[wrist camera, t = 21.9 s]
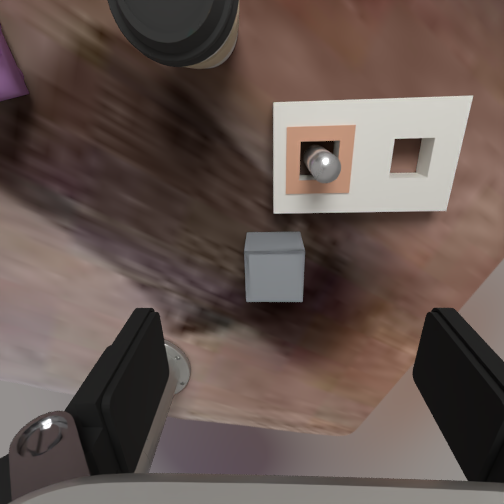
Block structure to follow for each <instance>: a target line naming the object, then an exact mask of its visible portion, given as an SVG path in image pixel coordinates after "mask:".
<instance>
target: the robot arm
mask: <svg viewBox="0 0 504 504" xmlns="http://www.w3.org/2000/svg"><path fill="white" fill-rule="evenodd" d="M190 372H191V368H190V363H189V360H188V358H187V357H186V355H185V354H184V352H183V351H182V350H181V349H180V348H178V347H177V346H176V345H174V344H173V343H171V342H169V341H167V340H164V337H163V331H162V326H161V320H160V315H159V313H158V312H155V311H154V309H153V308H136V309H135V310H134V311H133V313H132V315H131V316H130V318H129V319H128V321H127V322H126V324H125V325H124V327H123V328H122V330H121V331H120V333H119V334H118V336H117V337H116V339H115V341H114V342H113V344H112V345H110V346H108V347H107V348H106V350H105V351H104V352H103V354H102V355H101V357H100V358H99V360H98V361H97V363H96V364H95V366H94V367H93V369H92V370H91V372H90V373H89V375H88V376H87V378H86V379H85V381H84V382H83V384H82V385H81V387H80V388H79V390H78V391H77V393H76V394H75V396H74V397H73V399H72V400H71V402H70V403H69V405H68V406H67V408H66V409H65V411H54V412H48V413H46V414H43V415H40V416H38V417H37V418H35V419H33V420H32V421H30V422H29V423H28V424H26V425H25V426H24V427H23V428H21V430H20V431H19V432H18V433H17V434H16V436H15V437H14V438H13V440H12V442H11V444H10V448H9V454H7V455H6V456H4V457H2V458H0V504H504V362H503V360H502V359H501V358H500V357H499V356H498V355H497V354H496V353H495V352H494V351H493V350H492V349H491V348H490V346H488V345H487V343H486V342H485V341H484V340H483V339H482V338H481V337H480V336H479V335H478V334H477V333H476V331H475V330H474V329H473V328H472V327H471V326H470V325H469V324H468V323H467V322H466V321H465V320H464V319H463V317H461V315H460V314H459V313H458V312H457V311H456V310H455V309H454V308H433V309H432V311H431V312H428V313H427V315H426V318H425V322H424V326H423V330H422V334H421V339H420V343H419V347H418V351H417V355H416V359H415V363H414V367H413V379H414V382H415V384H416V386H417V387H418V389H419V391H420V393H421V395H422V397H423V398H424V400H425V402H426V404H427V406H428V408H429V409H430V411H431V413H432V415H433V417H434V419H435V421H436V423H437V424H438V426H439V428H440V430H441V432H442V434H443V436H444V438H445V439H446V441H447V443H448V445H449V447H450V449H451V450H452V452H453V454H454V456H455V458H456V460H457V462H458V463H459V465H460V467H461V469H462V471H463V473H464V475H465V476H466V478H467V480H468V481H451V480H418V479H389V478H355V477H318V476H279V475H235V474H234V475H233V474H232V475H231V474H230V475H229V474H185V473H149V470H150V467H151V464H152V461H153V458H154V455H155V452H156V449H157V446H158V443H159V439H160V436H161V433H162V430H163V427H164V424H165V421H166V418H167V415H168V412H169V409H170V405H171V402H172V399H173V396H174V394H176V393H178V392H180V391H181V390H182V389H183V388H184V387H185V386H186V384H187V383H188V381H189V377H190Z"/></svg>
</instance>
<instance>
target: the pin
mask: <svg viewBox="0 0 504 504" xmlns="http://www.w3.org/2000/svg"><path fill="white" fill-rule="evenodd" d="M303 161H304V163H305V165H306V166H307V168H308V169H309V171H310V172H311V174H312V175H313V177H314V178H315V179H316V180H317V181H318V182H320V183H330V182H332V181H334V180H335V179H336V178H337V177H338V176H339V174H340V172H341V163H340V161H339V159H338V158H337V157H336V156H335V155H333V154H332V153H330V152H329V151H328V150H326V149H325V148H323V147H322V146H320V145H311V146H309V147H308V148H307V149H306V150H305V152H304V154H303Z"/></svg>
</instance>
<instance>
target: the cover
mask: <svg viewBox="0 0 504 504" xmlns="http://www.w3.org/2000/svg"><path fill="white" fill-rule="evenodd" d="M244 259H245V283H246V302H303V281H304V260H305V249H304V245H303V241H302V238H301V234H300V232H247V236H246V242H245V249H244Z"/></svg>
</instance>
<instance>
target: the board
mask: <svg viewBox="0 0 504 504" xmlns="http://www.w3.org/2000/svg"><path fill="white" fill-rule="evenodd" d="M472 99H473V96H449V97H419V98H390V99H361V100H331V101H302V102H273V211H274V214H280V213H343V212H405V211H446V209H447V205H448V201H449V197H450V192H451V188H452V184H453V180H454V175H455V171H456V167H457V163H458V158H459V154H460V150H461V146H462V141H463V137H464V133H465V129H466V124H467V120H468V116H469V112H470V107H471V103H472ZM405 138H422V141H421V147H420V152H419V157H418V163H417V168H416V173H390V167H391V161H392V154H393V147H394V141H395V139H405ZM304 141H334V148H333V155H335V156H336V157H337V158H338V159H339V161H340V163H341V172H340V174H339V176H338V177H337V178H336V179H335V180H334V181H332V182H330V183H320V182H318V181H317V180H316V179H315V178H314V177H313V175H300V145H301V142H304Z"/></svg>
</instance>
